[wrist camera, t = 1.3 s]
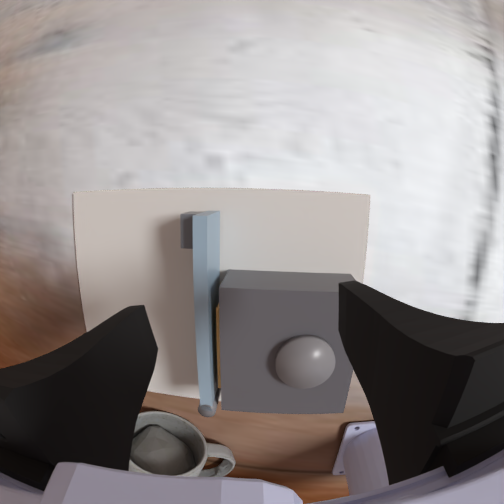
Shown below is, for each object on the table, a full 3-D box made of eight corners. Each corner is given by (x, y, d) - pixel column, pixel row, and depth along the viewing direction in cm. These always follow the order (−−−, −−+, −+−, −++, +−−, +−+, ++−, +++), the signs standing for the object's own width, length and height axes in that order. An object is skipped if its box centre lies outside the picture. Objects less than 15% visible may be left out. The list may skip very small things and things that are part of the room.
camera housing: (350, 273, 21) (369, 295, 16) (334, 381, 23) (344, 418, 18) (224, 269, 21) (211, 290, 17) (225, 378, 23) (215, 414, 19)
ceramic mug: (132, 447, 27) (108, 497, 19) (136, 399, 25) (104, 454, 17) (225, 476, 27) (216, 531, 19) (246, 433, 25) (239, 497, 17)
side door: (223, 210, 20) (210, 216, 16) (223, 386, 23) (215, 418, 19) (193, 210, 20) (174, 215, 16) (199, 383, 23) (187, 414, 19)
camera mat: (368, 194, 20) (370, 194, 20) (340, 401, 23) (341, 404, 23) (76, 191, 21) (73, 192, 21) (99, 378, 25) (97, 380, 24)
